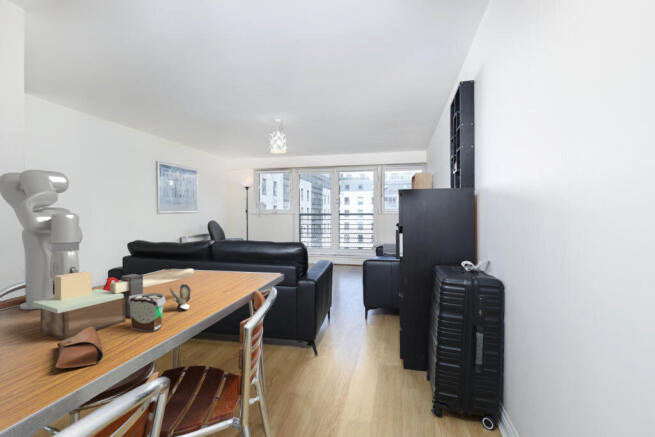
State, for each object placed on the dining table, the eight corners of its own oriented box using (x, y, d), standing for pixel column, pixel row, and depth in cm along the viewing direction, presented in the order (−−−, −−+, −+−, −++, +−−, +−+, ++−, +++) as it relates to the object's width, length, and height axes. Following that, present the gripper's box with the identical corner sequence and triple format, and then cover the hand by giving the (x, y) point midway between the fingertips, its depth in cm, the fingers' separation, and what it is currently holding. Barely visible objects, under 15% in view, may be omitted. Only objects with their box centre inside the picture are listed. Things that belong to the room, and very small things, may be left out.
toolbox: (40, 331, 87) (40, 285, 87) (121, 310, 107) (121, 272, 107) (64, 340, 81) (64, 290, 81) (145, 315, 101) (145, 275, 101)
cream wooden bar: (110, 292, 96) (110, 283, 96) (188, 275, 123) (188, 268, 123) (115, 293, 95) (115, 284, 95) (193, 276, 122) (193, 269, 122)
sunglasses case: (54, 342, 76) (74, 318, 79) (82, 352, 80) (100, 328, 83) (54, 369, 63) (78, 339, 66) (87, 378, 67) (109, 350, 70)
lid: (32, 305, 87) (32, 278, 86) (98, 292, 102) (98, 268, 102) (57, 313, 80) (57, 283, 80) (123, 297, 95) (123, 272, 95)
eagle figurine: (178, 306, 112) (178, 283, 111) (195, 307, 111) (195, 283, 111) (165, 313, 104) (165, 288, 104) (184, 314, 103) (184, 288, 103)
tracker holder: (105, 306, 112) (105, 280, 112) (96, 305, 113) (96, 279, 113) (132, 297, 124) (132, 274, 124) (124, 296, 125) (123, 273, 125)
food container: (175, 326, 92) (175, 294, 92) (157, 333, 86) (157, 299, 86) (146, 321, 96) (146, 291, 96) (128, 328, 90) (127, 296, 90)
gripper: (40, 247, 104) (40, 294, 104) (64, 249, 97) (65, 301, 97) (66, 245, 111) (66, 290, 111) (90, 247, 104) (91, 295, 104)
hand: (65, 295), depth 104 cm, fingers open, 9 cm apart
